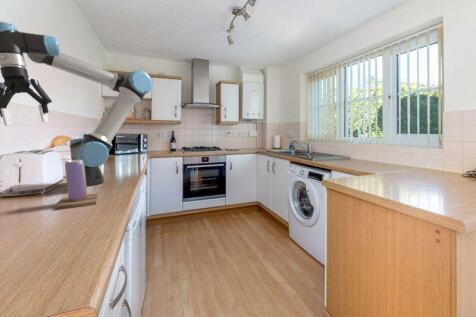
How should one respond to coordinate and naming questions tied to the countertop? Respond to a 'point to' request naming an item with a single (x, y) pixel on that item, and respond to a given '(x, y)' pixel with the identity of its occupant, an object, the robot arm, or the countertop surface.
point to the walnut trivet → (77, 202)
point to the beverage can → (76, 180)
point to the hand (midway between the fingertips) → (27, 123)
